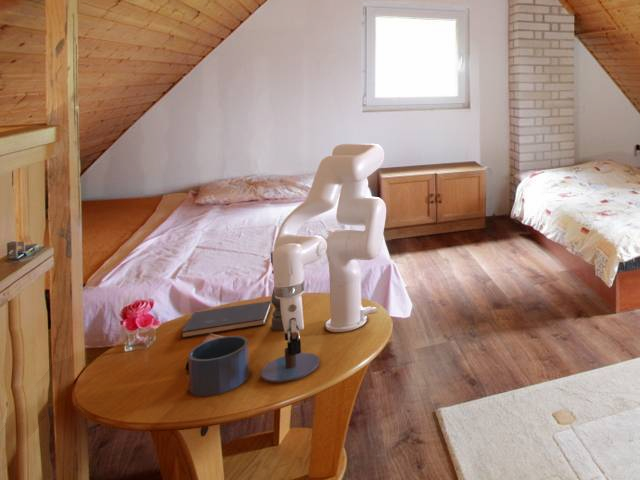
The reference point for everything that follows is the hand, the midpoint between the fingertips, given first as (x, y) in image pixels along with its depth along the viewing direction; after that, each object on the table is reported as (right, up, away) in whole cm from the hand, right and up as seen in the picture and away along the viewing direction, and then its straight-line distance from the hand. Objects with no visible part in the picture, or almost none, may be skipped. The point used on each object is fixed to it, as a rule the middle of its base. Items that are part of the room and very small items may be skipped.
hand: (293, 346), depth 164 cm
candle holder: (-17, -6, +26) cm, 32 cm away
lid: (0, -6, -1) cm, 6 cm away
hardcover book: (-38, -6, +30) cm, 48 cm away
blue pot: (-17, -7, -7) cm, 19 cm away
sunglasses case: (-28, -6, +7) cm, 30 cm away
